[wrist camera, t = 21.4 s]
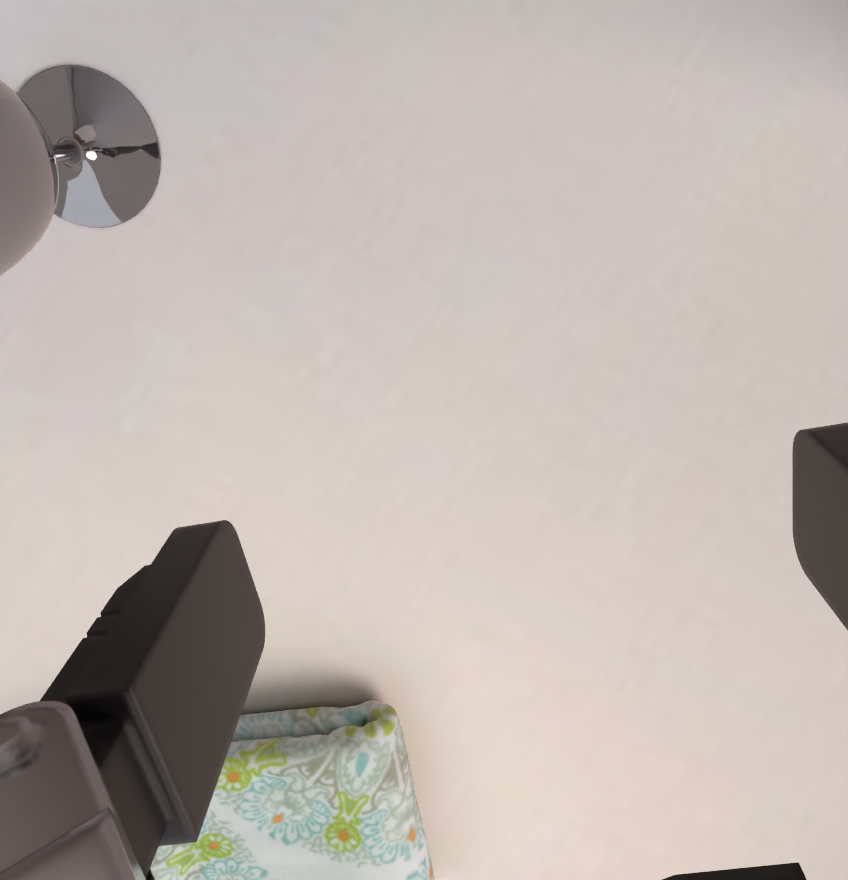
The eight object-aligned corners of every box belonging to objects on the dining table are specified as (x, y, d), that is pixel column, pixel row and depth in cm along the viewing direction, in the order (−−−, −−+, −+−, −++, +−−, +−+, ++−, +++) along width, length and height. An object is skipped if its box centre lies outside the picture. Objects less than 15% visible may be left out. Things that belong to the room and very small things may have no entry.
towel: (83, 724, 50) (46, 788, 46) (398, 688, 48) (393, 751, 43) (167, 905, 57) (142, 976, 53) (444, 881, 55) (444, 953, 51)
